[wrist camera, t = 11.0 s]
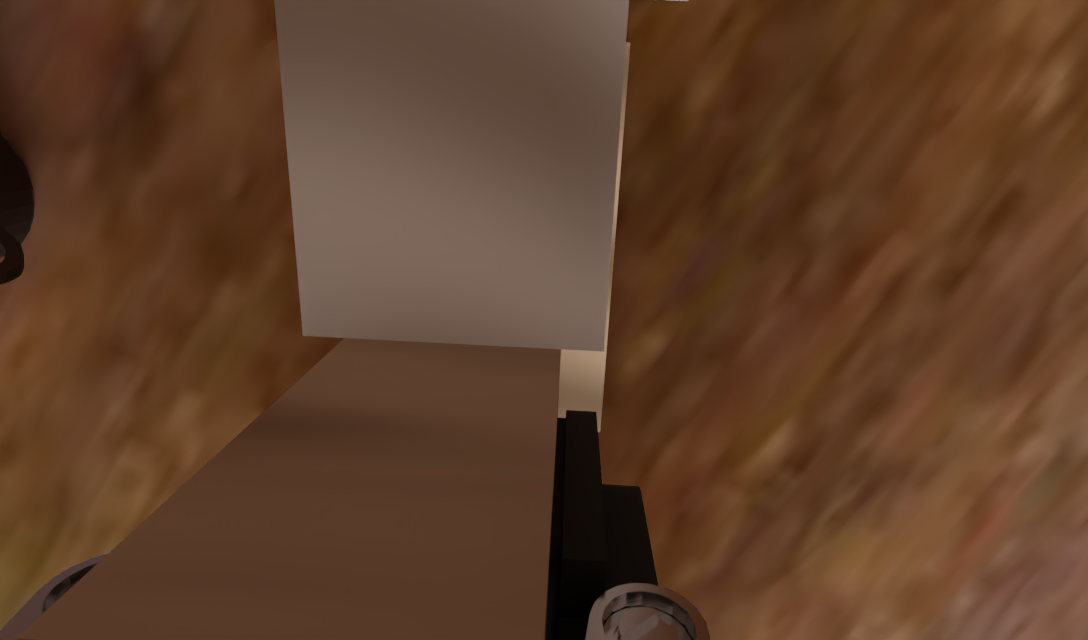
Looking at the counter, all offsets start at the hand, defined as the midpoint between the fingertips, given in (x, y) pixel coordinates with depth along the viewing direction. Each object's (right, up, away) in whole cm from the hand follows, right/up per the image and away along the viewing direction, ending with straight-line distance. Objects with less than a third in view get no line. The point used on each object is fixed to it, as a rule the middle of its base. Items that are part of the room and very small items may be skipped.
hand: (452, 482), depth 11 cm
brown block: (0, +4, -1) cm, 4 cm away
